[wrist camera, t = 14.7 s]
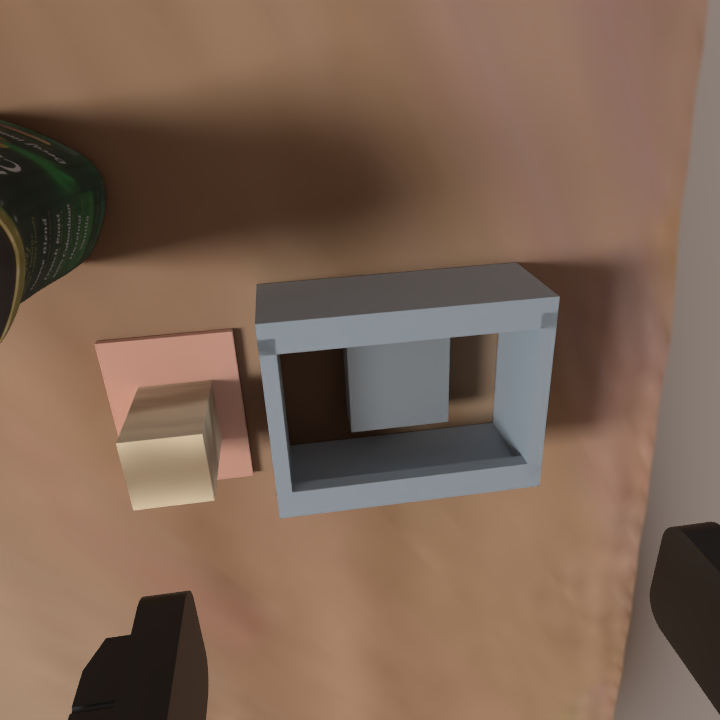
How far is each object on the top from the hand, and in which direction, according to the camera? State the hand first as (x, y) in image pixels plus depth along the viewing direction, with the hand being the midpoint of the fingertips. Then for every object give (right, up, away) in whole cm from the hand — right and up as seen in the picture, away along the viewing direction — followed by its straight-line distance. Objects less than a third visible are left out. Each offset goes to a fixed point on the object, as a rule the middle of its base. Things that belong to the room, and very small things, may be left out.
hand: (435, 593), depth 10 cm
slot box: (+1, +4, +34) cm, 35 cm away
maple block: (-14, 0, +33) cm, 36 cm away
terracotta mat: (-14, 0, +34) cm, 37 cm away
